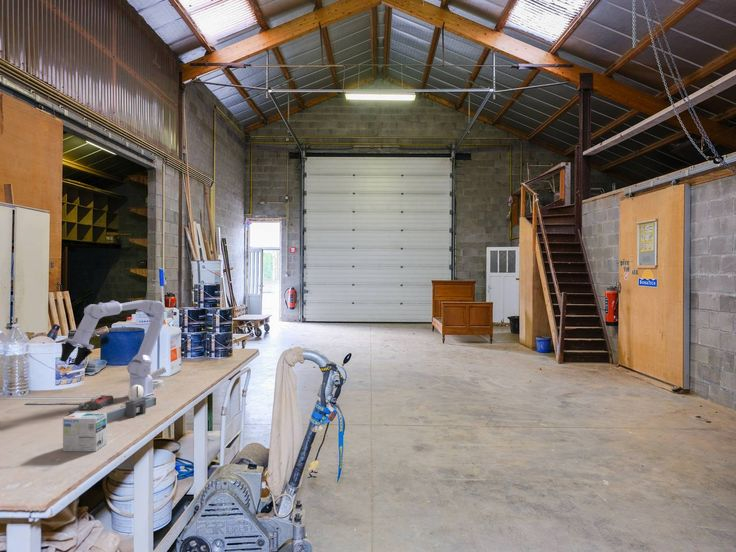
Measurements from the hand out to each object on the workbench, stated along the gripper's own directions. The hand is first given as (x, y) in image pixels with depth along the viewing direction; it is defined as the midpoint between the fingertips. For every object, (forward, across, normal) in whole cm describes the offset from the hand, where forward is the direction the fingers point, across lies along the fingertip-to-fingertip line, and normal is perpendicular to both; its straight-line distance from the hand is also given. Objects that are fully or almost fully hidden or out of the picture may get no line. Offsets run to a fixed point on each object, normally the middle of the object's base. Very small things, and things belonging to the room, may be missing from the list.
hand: (69, 363), depth 186 cm
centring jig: (+13, +23, +13) cm, 29 cm away
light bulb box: (+23, +43, -17) cm, 52 cm away
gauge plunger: (+11, +27, +12) cm, 32 cm away
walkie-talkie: (+15, +7, +14) cm, 22 cm away
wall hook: (0, +3, +48) cm, 48 cm away
